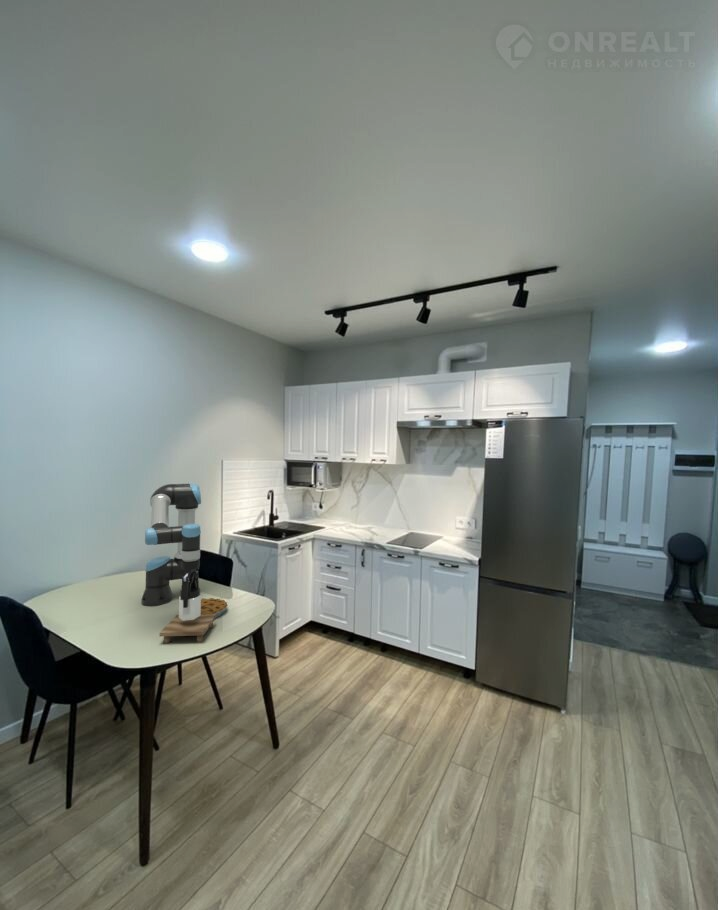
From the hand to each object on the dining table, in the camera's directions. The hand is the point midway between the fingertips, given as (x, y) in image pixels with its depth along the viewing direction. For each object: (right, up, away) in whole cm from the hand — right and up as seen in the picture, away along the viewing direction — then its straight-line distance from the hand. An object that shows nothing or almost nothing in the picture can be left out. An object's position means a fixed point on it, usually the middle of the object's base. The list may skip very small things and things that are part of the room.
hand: (189, 610), depth 165 cm
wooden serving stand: (0, -11, 0) cm, 11 cm away
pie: (-3, -11, +22) cm, 25 cm away
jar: (0, -3, 0) cm, 3 cm away
